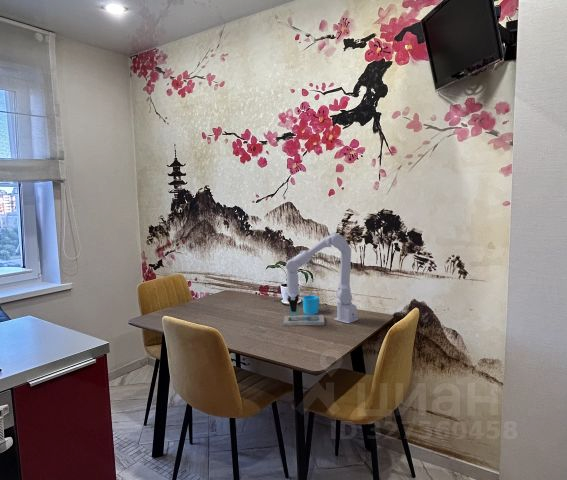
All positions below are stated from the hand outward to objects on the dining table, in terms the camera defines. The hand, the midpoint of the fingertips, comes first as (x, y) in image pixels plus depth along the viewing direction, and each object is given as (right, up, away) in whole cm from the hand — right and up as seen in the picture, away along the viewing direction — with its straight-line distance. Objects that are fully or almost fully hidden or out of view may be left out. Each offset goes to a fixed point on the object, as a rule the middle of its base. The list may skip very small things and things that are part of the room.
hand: (293, 310), depth 200 cm
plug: (0, -2, 0) cm, 2 cm away
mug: (+11, -4, +18) cm, 21 cm away
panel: (+5, -6, +1) cm, 8 cm away
